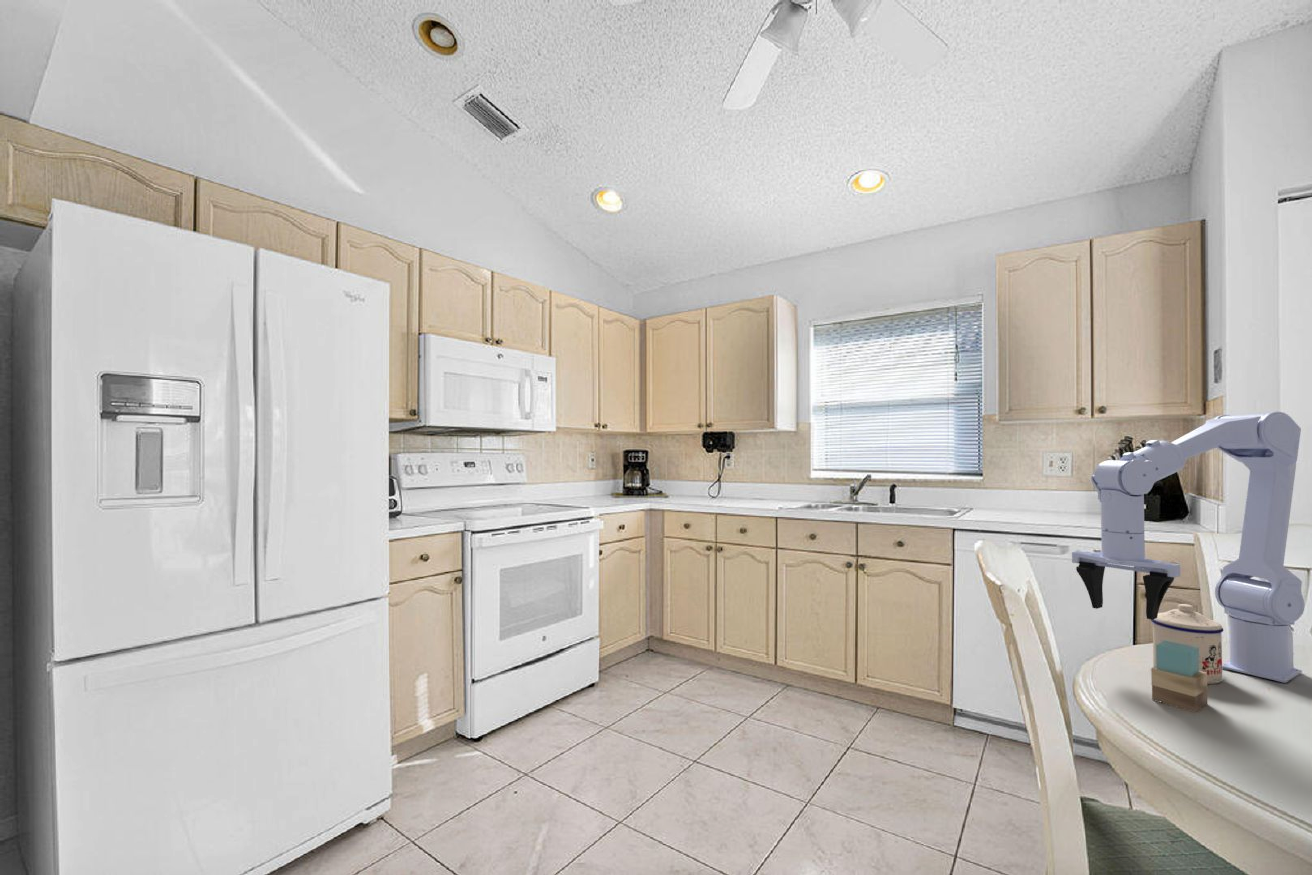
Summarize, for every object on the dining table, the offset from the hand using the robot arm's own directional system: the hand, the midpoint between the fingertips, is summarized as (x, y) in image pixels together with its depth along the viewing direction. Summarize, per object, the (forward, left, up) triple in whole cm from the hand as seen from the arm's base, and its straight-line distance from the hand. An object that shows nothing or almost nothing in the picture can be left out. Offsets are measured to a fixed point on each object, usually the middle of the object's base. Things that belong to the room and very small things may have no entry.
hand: (1123, 612), depth 99 cm
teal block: (+6, +9, -6) cm, 12 cm away
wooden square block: (+6, +9, -11) cm, 15 cm away
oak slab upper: (+6, +9, -8) cm, 13 cm away
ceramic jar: (-11, +5, -11) cm, 16 cm away
